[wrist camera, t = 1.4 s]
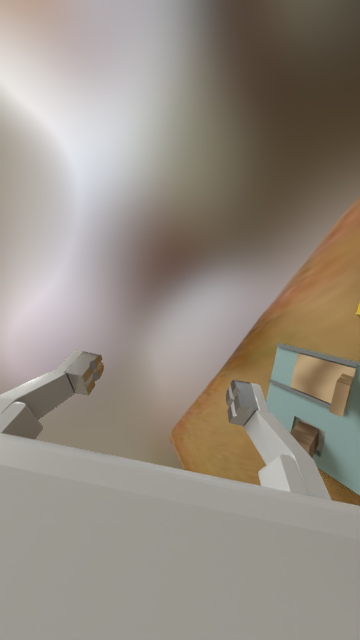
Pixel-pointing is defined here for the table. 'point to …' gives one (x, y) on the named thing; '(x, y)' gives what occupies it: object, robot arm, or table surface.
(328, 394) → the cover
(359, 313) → the candy box
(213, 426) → the table surface
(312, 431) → the walnut block
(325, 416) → the puzzle board
